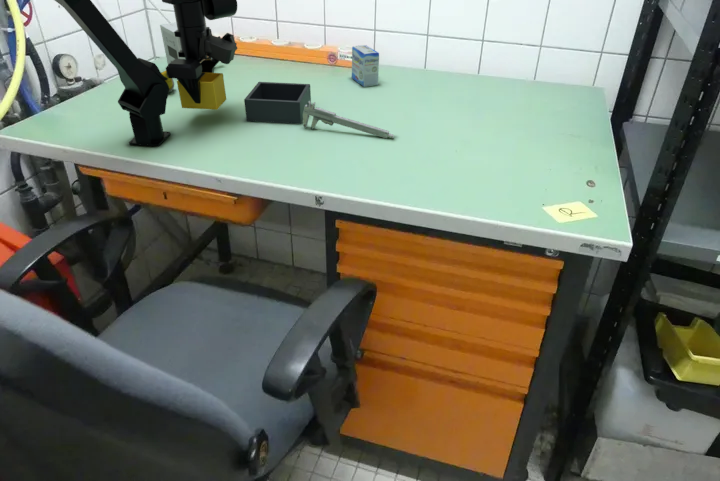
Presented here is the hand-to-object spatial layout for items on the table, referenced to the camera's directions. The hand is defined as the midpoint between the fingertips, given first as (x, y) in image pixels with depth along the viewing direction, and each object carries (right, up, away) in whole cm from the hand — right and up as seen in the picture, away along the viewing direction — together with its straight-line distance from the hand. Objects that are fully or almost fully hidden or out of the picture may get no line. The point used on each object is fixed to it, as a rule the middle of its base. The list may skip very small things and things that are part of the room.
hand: (203, 97), depth 118 cm
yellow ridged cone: (-14, +6, +17) cm, 23 cm away
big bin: (+16, -2, +7) cm, 18 cm away
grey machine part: (-10, +16, +32) cm, 37 cm away
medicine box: (+36, +11, +25) cm, 46 cm away
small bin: (0, -1, +1) cm, 1 cm away
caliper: (+32, -9, -2) cm, 34 cm away
